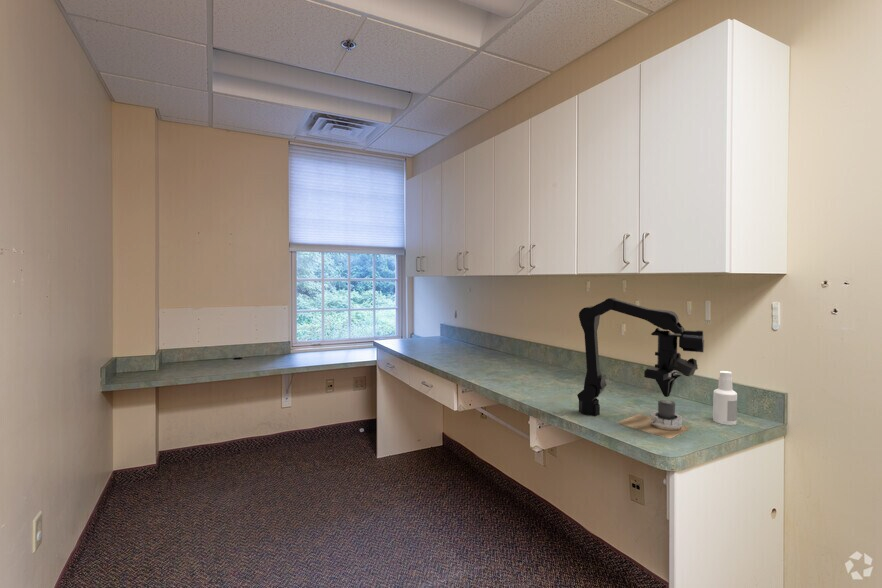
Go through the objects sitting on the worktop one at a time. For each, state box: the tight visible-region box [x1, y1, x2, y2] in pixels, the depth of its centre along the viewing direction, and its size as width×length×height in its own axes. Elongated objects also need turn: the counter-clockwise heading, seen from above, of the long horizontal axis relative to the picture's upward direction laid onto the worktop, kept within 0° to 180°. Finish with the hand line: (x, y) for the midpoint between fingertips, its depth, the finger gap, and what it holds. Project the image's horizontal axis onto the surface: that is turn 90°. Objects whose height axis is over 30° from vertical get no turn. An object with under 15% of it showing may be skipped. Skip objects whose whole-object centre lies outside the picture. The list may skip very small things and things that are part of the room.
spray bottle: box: [712, 370, 738, 426], centre depth 148 cm, size 7×7×18 cm
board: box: [616, 413, 692, 440], centre depth 145 cm, size 18×15×1 cm
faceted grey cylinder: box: [650, 410, 683, 431], centre depth 144 cm, size 9×9×4 cm
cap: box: [657, 399, 676, 419], centre depth 144 cm, size 5×5×6 cm
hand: (666, 396), depth 144 cm, fingers closed
